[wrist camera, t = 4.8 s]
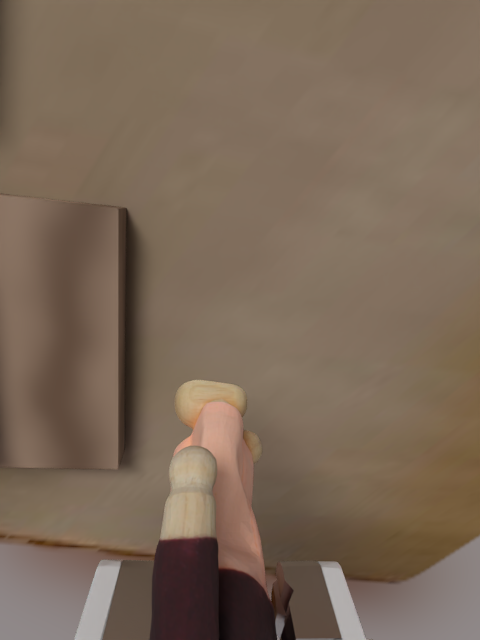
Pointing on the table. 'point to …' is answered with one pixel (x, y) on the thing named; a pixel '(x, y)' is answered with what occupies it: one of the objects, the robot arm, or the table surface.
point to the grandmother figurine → (211, 527)
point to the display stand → (62, 333)
